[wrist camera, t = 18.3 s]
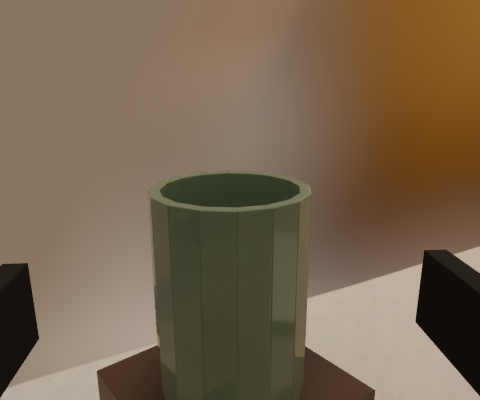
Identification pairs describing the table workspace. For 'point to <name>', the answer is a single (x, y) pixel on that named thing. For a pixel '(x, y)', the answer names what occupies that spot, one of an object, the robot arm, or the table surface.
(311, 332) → the table surface
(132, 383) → the block
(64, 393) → the table surface
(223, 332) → the cup
